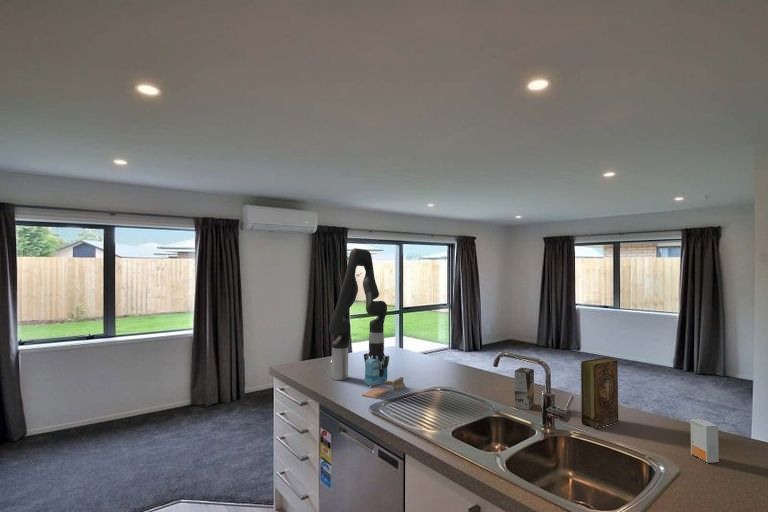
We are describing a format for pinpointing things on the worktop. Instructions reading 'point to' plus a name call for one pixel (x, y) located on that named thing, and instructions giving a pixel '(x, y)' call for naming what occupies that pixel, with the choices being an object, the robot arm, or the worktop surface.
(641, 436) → the worktop surface
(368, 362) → the blue flat block
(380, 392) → the terracotta pad
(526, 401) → the coffee box
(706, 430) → the skincare box
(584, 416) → the book
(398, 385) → the oak rack
